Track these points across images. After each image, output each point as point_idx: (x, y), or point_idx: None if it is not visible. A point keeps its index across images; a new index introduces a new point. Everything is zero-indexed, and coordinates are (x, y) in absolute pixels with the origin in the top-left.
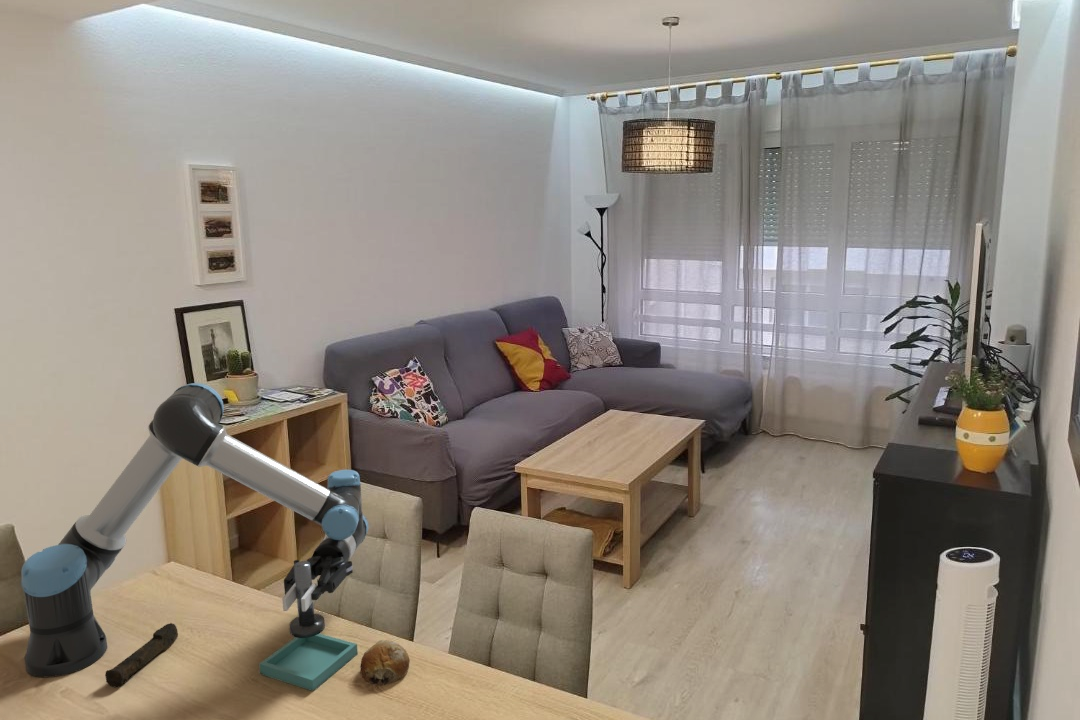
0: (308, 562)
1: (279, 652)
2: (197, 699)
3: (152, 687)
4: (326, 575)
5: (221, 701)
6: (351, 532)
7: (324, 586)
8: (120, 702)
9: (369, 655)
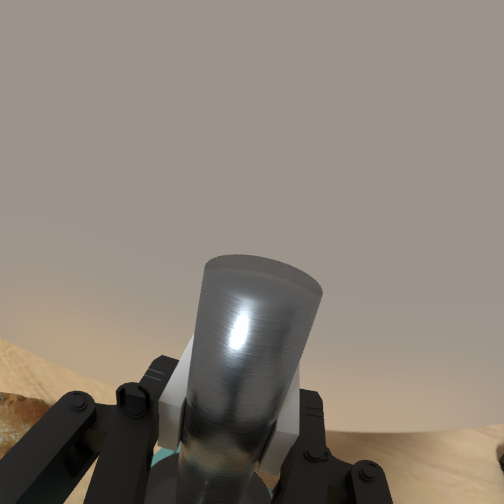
0: (221, 283)
1: None
2: (386, 455)
3: (467, 470)
4: (88, 496)
5: (345, 451)
6: None
7: (114, 407)
8: (474, 441)
9: (39, 418)
